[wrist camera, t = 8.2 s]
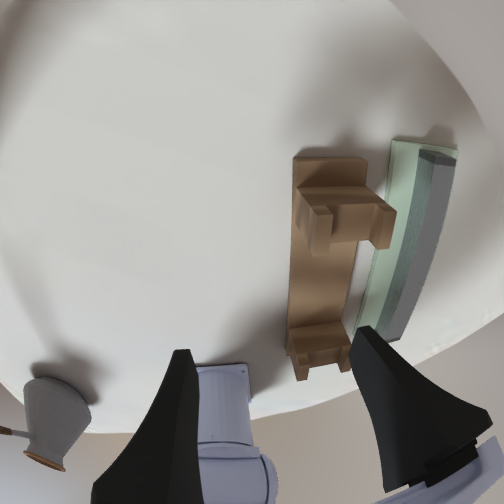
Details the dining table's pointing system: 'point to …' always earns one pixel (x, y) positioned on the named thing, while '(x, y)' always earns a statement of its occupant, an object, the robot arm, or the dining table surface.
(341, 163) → the rack
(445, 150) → the pad
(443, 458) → the robot arm
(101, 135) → the dining table surface
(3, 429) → the coffee pot
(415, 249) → the rail
